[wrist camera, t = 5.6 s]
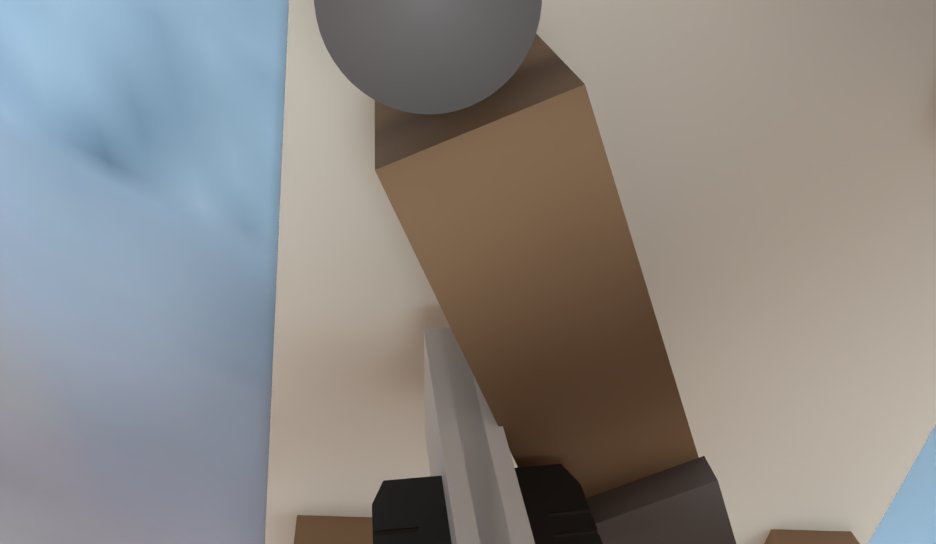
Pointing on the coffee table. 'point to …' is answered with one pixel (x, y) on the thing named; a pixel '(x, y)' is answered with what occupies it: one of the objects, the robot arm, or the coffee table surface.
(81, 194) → the coffee table surface
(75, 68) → the coffee table surface
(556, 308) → the brown rectangular block
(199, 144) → the coffee table surface
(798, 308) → the seat board
